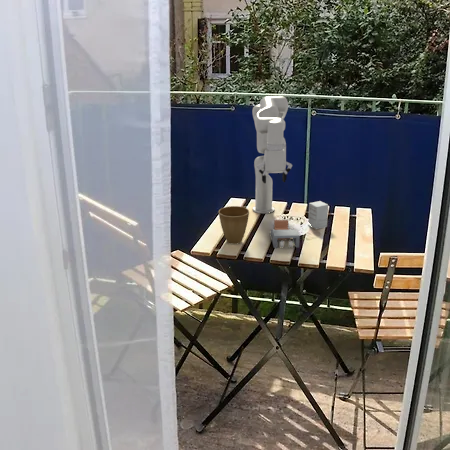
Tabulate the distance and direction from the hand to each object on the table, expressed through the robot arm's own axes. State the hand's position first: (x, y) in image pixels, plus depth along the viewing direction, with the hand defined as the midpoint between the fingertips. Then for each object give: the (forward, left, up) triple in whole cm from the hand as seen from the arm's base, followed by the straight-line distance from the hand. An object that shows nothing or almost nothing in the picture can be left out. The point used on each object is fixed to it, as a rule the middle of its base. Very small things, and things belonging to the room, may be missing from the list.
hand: (274, 182), depth 271 cm
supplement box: (-17, +25, -30) cm, 43 cm away
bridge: (+2, +5, -30) cm, 30 cm away
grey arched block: (-5, +5, -30) cm, 31 cm away
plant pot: (+2, -20, -30) cm, 36 cm away
